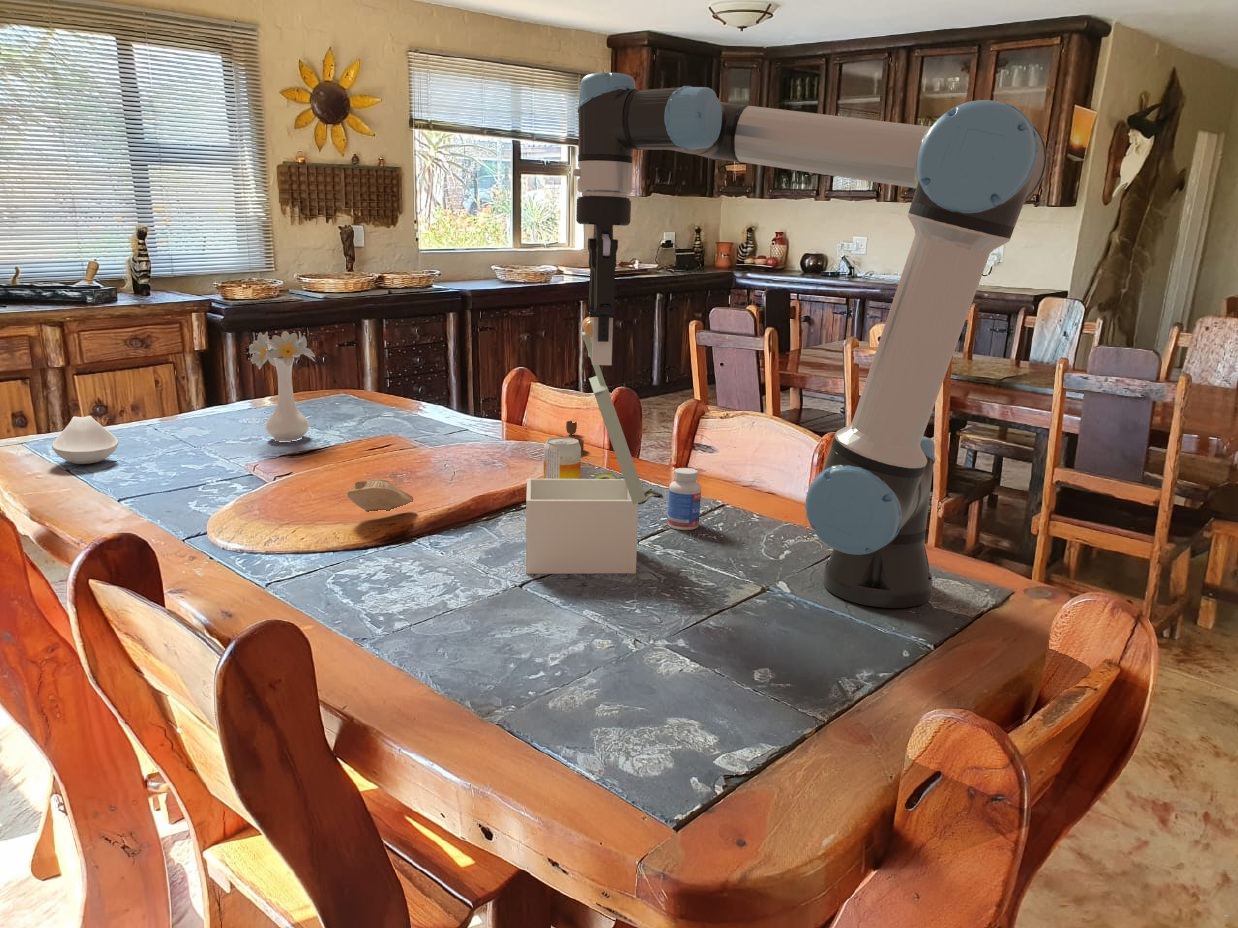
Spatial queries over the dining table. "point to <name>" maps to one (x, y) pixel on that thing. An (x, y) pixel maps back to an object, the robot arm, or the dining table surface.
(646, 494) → the salad plate
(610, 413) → the lid
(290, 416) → the flower vase
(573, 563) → the tub
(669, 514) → the pill bottle
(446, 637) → the dining table surface
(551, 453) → the beer can
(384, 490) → the pottery oil lamp
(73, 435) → the spoon rest
